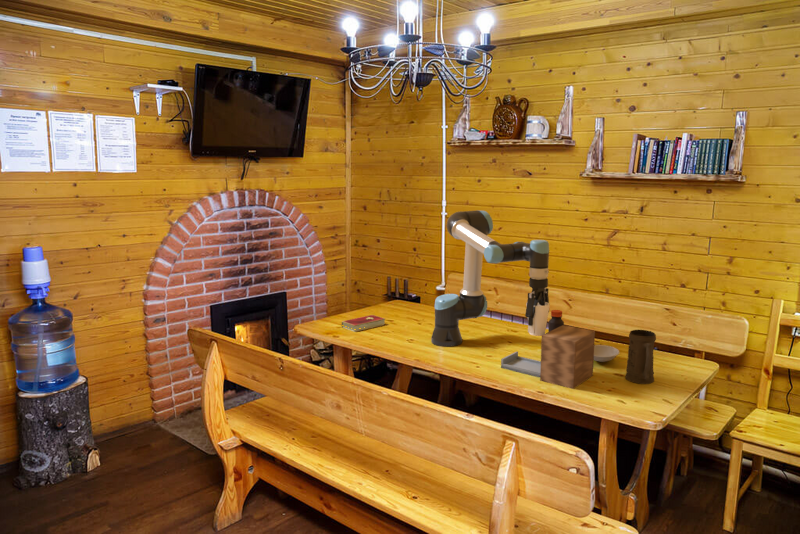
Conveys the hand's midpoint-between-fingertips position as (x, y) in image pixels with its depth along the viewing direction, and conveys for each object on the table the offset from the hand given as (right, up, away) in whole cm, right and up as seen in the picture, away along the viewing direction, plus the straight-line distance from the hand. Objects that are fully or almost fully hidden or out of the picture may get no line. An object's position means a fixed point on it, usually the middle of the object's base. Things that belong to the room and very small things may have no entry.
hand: (537, 330), depth 242 cm
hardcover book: (-77, -7, +74) cm, 107 cm away
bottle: (+14, -14, +26) cm, 32 cm away
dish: (+32, -16, +13) cm, 38 cm away
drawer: (-2, -17, +5) cm, 18 cm away
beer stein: (+40, -20, -10) cm, 46 cm away
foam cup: (0, -2, 0) cm, 2 cm away
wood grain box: (+11, -19, -6) cm, 23 cm away
